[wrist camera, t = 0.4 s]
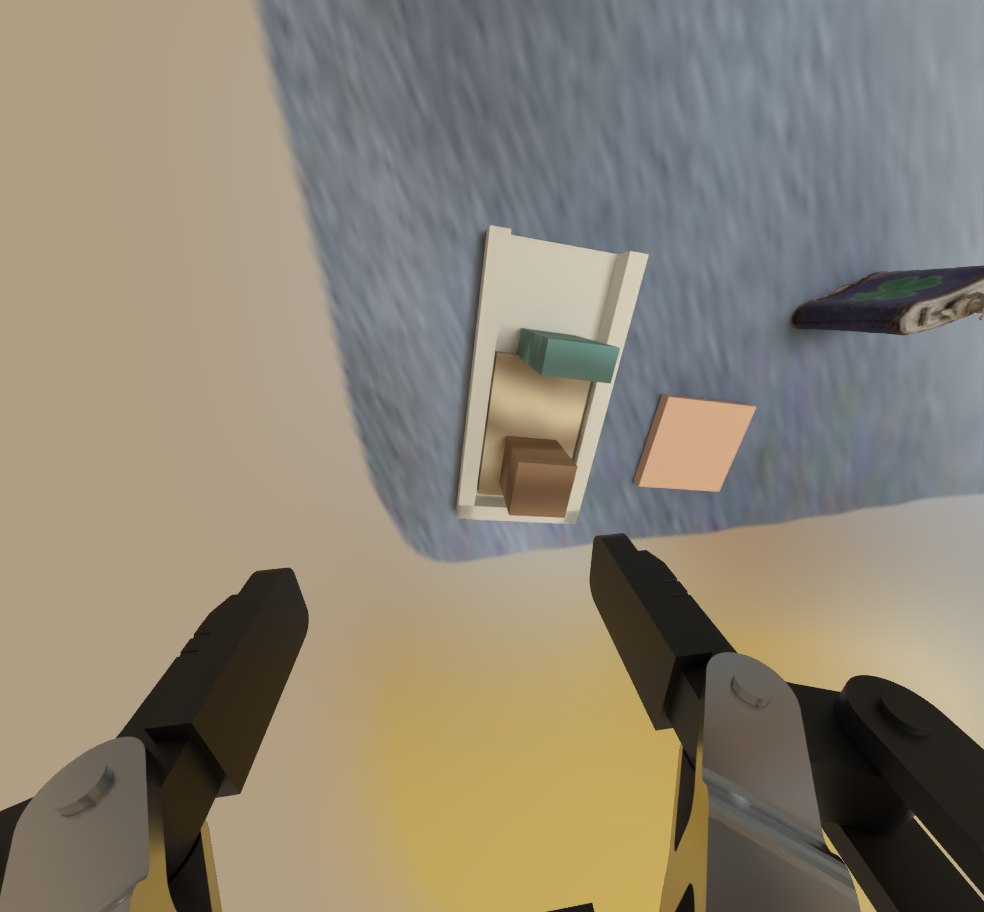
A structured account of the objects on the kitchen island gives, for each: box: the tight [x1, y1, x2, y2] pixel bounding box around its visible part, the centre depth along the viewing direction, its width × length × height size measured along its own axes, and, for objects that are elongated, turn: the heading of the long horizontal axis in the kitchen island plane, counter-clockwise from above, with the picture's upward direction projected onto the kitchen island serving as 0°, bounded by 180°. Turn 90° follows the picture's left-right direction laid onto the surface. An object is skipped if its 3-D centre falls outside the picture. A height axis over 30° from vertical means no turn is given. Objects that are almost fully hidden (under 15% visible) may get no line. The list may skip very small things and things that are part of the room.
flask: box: [792, 266, 984, 335], centre depth 29 cm, size 9×3×11 cm, turn 112°
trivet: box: [634, 394, 756, 492], centre depth 38 cm, size 10×10×1 cm
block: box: [499, 436, 578, 518], centre depth 32 cm, size 5×5×6 cm
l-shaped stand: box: [477, 328, 620, 495], centre depth 30 cm, size 16×9×9 cm, turn 172°
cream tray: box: [456, 225, 649, 524], centre depth 33 cm, size 26×13×2 cm, turn 172°
